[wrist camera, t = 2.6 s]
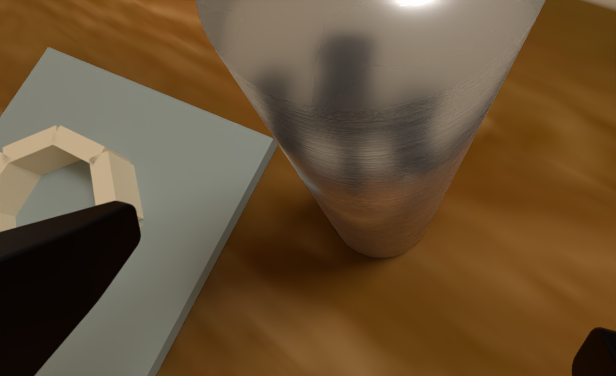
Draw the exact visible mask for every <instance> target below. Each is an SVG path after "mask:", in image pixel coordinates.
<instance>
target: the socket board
mask: <svg viewBox="0 0 616 376" xmlns="http://www.w3.org/2000/svg"><path fill="white" fill-rule="evenodd" d="M276 147H277V143H276V142H275V140H274V139H273V138H271V137H268V136H266V135H263V134H261V133H258V132H256V131H254V130H251V129H249V128H246V127H244V126H241V125H239V124H236V123H234V122H231V121H229V120H226V119H224V118H221V117H219V116H217V115H214V114H212V113H209V112H207V111H204V110H202V109H199V108H197V107H194V106H192V105H189V104H187V103H185V102H182V101H180V100H177V99H175V98H172V97H170V96H167V95H165V94H162V93H160V92H157V91H155V90H153V89H150V88H148V87H145V86H143V85H140V84H138V83H135V82H133V81H130V80H128V79H125V78H123V77H120V76H118V75H116V74H113V73H111V72H108V71H106V70H103V69H101V68H98V67H96V66H93V65H91V64H88V63H86V62H84V61H81V60H79V59H76V58H74V57H71V56H69V55H66V54H64V53H61V52H59V51H56V50H54V49H52V48H49V47H48V48H47V50H46V51H45V53H44V54H43V56H42V57H41V58H40V60H39V61H38V63H37V64H36V66H35V67H34V69H33V70H32V72H31V73H30V75H29V76H28V78H27V79H26V80H25V82H24V83H23V85H22V86H21V88H20V89H19V91H18V92H17V94H16V95H15V97H14V98H13V99H12V101H11V102H10V104H9V105H8V107H7V108H6V110H5V111H4V113H3V114H2V116H1V117H0V232H1V231H5V230H9V229H12V228H16V227H20V226H23V225H27V224H31V223H34V222H38V221H42V220H45V219H49V218H53V217H56V216H60V215H63V214H67V213H71V212H74V211H78V210H82V209H85V208H89V207H93V206H96V205H100V204H104V203H107V202H111V201H122V202H126V203H129V204H132V205H133V206H134V207H135V208H136V211H137V216H138V221H139V226H140V231H141V239H140V242H139V244H138V246H137V247H136V249H135V250H134V252H133V253H132V254H131V256H130V257H129V259H128V260H127V262H126V263H125V264H124V266H123V267H122V269H121V270H120V271H119V273H118V274H117V276H116V277H115V279H114V280H113V281H112V283H111V284H110V286H109V287H108V288H107V290H106V291H105V293H104V294H103V295H102V297H101V298H100V299H99V301H98V302H97V303H96V304H95V306H94V307H93V308H92V309H91V310H90V312H89V313H88V314H87V315H86V316H85V317H84V319H83V320H82V321H81V322H80V323H79V324H78V326H77V327H76V328H75V329H74V330H73V331H72V333H71V334H70V335H69V336H68V337H67V338H66V340H65V341H64V342H63V343H62V344H61V345H60V347H59V348H58V349H57V350H56V351H55V353H54V354H53V355H52V356H51V357H50V358H49V360H48V361H47V362H46V363H45V364H44V365H43V367H42V368H41V369H40V370H39V371H38V372H37V374H36V375H35V376H156V374H157V372H158V371H159V369H160V367H161V365H162V363H163V361H164V359H165V357H166V355H167V353H168V352H169V350H170V348H171V346H172V344H173V342H174V340H175V338H176V336H177V335H178V333H179V331H180V329H181V327H182V325H183V323H184V321H185V319H186V318H187V316H188V314H189V312H190V310H191V308H192V306H193V304H194V302H195V301H196V299H197V297H198V295H199V293H200V291H201V289H202V287H203V285H204V284H205V282H206V280H207V278H208V276H209V274H210V272H211V270H212V268H213V267H214V265H215V263H216V261H217V259H218V257H219V255H220V253H221V251H222V249H223V248H224V246H225V244H226V242H227V240H228V238H229V236H230V234H231V232H232V231H233V229H234V227H235V225H236V223H237V221H238V219H239V217H240V215H241V214H242V212H243V210H244V208H245V206H246V204H247V202H248V200H249V198H250V197H251V195H252V193H253V191H254V189H255V187H256V185H257V183H258V181H259V180H260V178H261V176H262V174H263V172H264V170H265V168H266V166H267V164H268V163H269V161H270V159H271V157H272V155H273V153H274V151H275V149H276Z"/></svg>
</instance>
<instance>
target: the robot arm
mask: <svg viewBox="0 0 616 376" xmlns="http://www.w3.org/2000/svg"><path fill="white" fill-rule="evenodd" d="M140 239H141V231H140V226H139V221H138V216H137V211H136V208H135V207H134V206H133V205H132V204H129V203H126V202H122V201H111V202H107V203H104V204H100V205H96V206H93V207H89V208H85V209H82V210H78V211H74V212H71V213H67V214H63V215H60V216H56V217H53V218H49V219H45V220H42V221H38V222H34V223H31V224H27V225H23V226H20V227H16V228H12V229H9V230H5V231H1V232H0V376H35V375H36V374H37V372H38V371H39V370H40V369H41V368H42V367H43V365H44V364H45V363H46V362H47V361H48V360H49V358H50V357H51V356H52V355H53V354H54V353H55V351H56V350H57V349H58V348H59V347H60V345H61V344H62V343H63V342H64V341H65V340H66V338H67V337H68V336H69V335H70V334H71V333H72V331H73V330H74V329H75V328H76V327H77V326H78V324H79V323H80V322H81V321H82V320H83V319H84V317H85V316H86V315H87V314H88V313H89V312H90V310H91V309H92V308H93V307H94V306H95V304H96V303H97V302H98V301H99V299H100V298H101V297H102V295H103V294H104V293H105V291H106V290H107V288H108V287H109V286H110V284H111V283H112V281H113V280H114V279H115V277H116V276H117V274H118V273H119V271H120V270H121V269H122V267H123V266H124V264H125V263H126V262H127V260H128V259H129V257H130V256H131V254H132V253H133V252H134V250H135V249H136V247H137V246H138V244H139V242H140ZM572 376H616V331H613V330H609V329H605V328H602V327H597V328H594V329H593V330H592V331H591V332H590V333H589V335H588V336H587V338H586V340H585V341H584V343H583V344H582V346H581V348H580V349H579V351H578V352H577V354H576V356H575V358H574V360H573V364H572Z"/></svg>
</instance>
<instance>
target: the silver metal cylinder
mask: <svg viewBox="0 0 616 376" xmlns="http://www.w3.org/2000/svg"><path fill="white" fill-rule="evenodd" d="M544 2H545V0H196V5H197V10H198V14H199V18H200V21H201V23H202V26H203V28H204V31H205V33H206V35H207V37H208V39H209V40H210V42H211V44H212V45H213V47H214V49H215V50H216V52H217V53H218V55H219V56H220V58H221V59H222V61H223V62H224V64H225V65H226V67H227V68H228V70H229V71H230V73H231V74H232V76H233V77H234V79H235V80H236V82H237V83H238V85H239V86H240V88H241V89H242V91H243V92H244V94H245V95H246V97H247V98H248V100H249V101H250V103H251V104H252V106H253V107H254V109H255V110H256V112H257V113H258V115H259V116H260V118H261V119H262V121H263V122H264V124H265V125H266V127H267V128H268V130H269V131H270V133H271V134H272V136H273V137H274V139H275V140H276V141H277V143H278V144H279V146H280V147H281V149H282V150H283V152H284V153H285V155H286V156H287V158H288V159H289V161H290V162H291V164H292V165H293V167H294V168H295V170H296V171H297V173H298V174H299V176H300V177H301V179H302V180H303V182H304V183H305V185H306V186H307V188H308V189H309V191H310V192H311V194H312V195H313V197H314V198H315V200H316V201H317V203H318V204H319V206H320V207H321V209H322V210H323V212H324V213H325V215H326V216H327V218H328V219H329V221H330V222H331V224H332V225H333V227H334V228H335V230H336V231H337V233H338V234H339V236H340V237H341V238H342V240H343V241H344V242H345V243H346V244H347V245H348V246H349V247H350V248H352V249H353V250H354V251H356V252H358V253H360V254H362V255H365V256H368V257H372V258H391V257H395V256H398V255H401V254H403V253H405V252H407V251H408V250H410V249H411V248H413V247H414V246H415V245H416V244H417V243H418V242H419V241H420V240H421V238H422V237H423V235H424V233H425V231H426V230H427V228H428V226H429V224H430V222H431V220H432V218H433V216H434V214H435V212H436V210H437V208H438V206H439V205H440V203H441V201H442V199H443V197H444V195H445V193H446V191H447V189H448V187H449V185H450V183H451V181H452V179H453V178H454V176H455V174H456V172H457V170H458V168H459V166H460V164H461V162H462V160H463V158H464V156H465V154H466V152H467V151H468V149H469V147H470V145H471V143H472V141H473V139H474V137H475V135H476V133H477V131H478V129H479V127H480V126H481V124H482V122H483V120H484V118H485V116H486V114H487V112H488V110H489V108H490V106H491V104H492V102H493V100H494V99H495V97H496V95H497V93H498V91H499V89H500V87H501V85H502V83H503V81H504V79H505V77H506V75H507V74H508V72H509V70H510V68H511V66H512V64H513V62H514V60H515V58H516V56H517V54H518V52H519V50H520V48H521V47H522V45H523V43H524V41H525V39H526V37H527V35H528V33H529V31H530V29H531V27H532V25H533V23H534V22H535V20H536V18H537V16H538V14H539V12H540V10H541V8H542V6H543V4H544Z"/></svg>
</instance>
